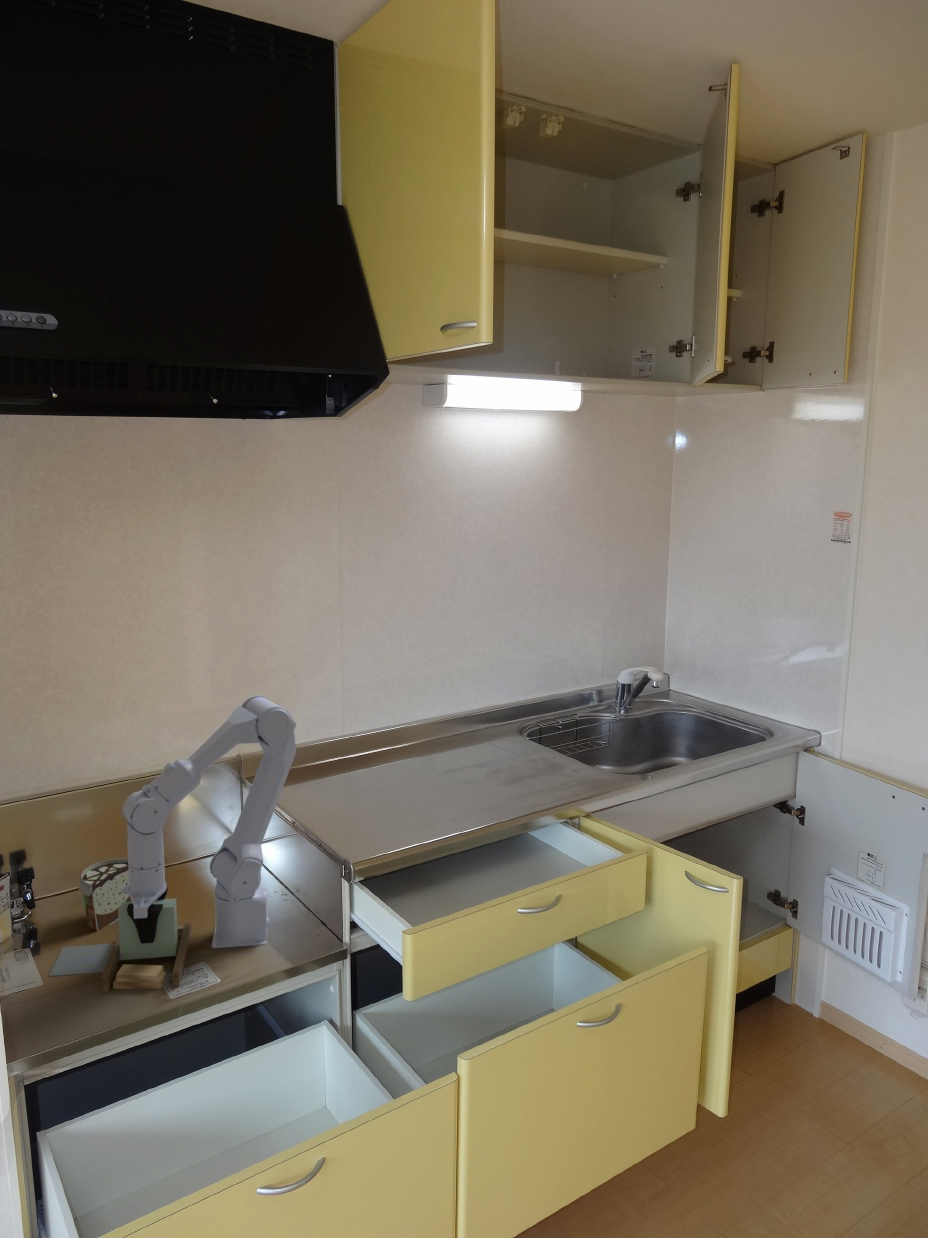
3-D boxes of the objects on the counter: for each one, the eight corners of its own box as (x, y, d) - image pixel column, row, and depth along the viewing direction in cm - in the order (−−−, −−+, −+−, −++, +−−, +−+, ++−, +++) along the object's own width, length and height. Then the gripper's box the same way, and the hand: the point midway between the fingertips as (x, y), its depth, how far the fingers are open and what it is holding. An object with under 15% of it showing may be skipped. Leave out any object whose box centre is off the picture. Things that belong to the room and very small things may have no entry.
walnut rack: (191, 935, 162) (191, 920, 162) (179, 989, 146) (178, 972, 145) (122, 940, 160) (121, 924, 160) (101, 995, 144) (101, 978, 143)
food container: (114, 900, 174) (111, 852, 173) (139, 907, 172) (137, 858, 170) (65, 930, 163) (62, 879, 161) (91, 937, 161) (88, 885, 159)
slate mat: (117, 946, 158) (117, 943, 158) (106, 974, 149) (106, 971, 149) (63, 949, 157) (63, 947, 156) (49, 978, 148) (49, 976, 148)
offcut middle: (166, 978, 148) (165, 972, 148) (160, 989, 145) (160, 982, 145) (119, 978, 148) (119, 972, 148) (113, 989, 145) (113, 982, 145)
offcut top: (163, 972, 148) (163, 965, 148) (156, 982, 145) (156, 976, 145) (123, 971, 148) (123, 964, 148) (116, 981, 145) (116, 974, 145)
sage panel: (178, 946, 156) (176, 898, 154) (175, 956, 153) (173, 907, 151) (123, 950, 154) (121, 902, 152) (120, 960, 151) (118, 910, 149)
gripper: (129, 845, 157) (132, 917, 159) (112, 883, 143) (116, 961, 145) (171, 843, 158) (173, 914, 160) (158, 881, 144) (161, 958, 146)
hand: (149, 936), depth 153 cm, fingers closed on sage panel, 3 cm apart
